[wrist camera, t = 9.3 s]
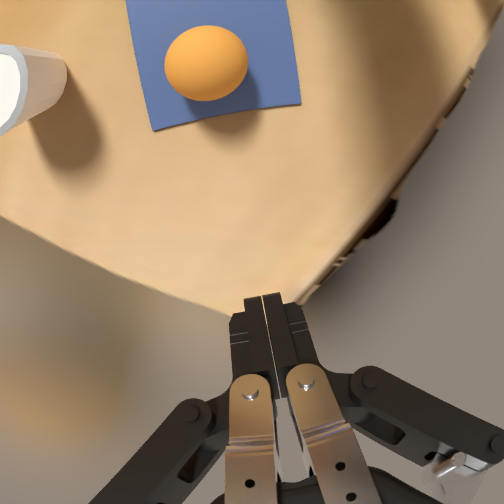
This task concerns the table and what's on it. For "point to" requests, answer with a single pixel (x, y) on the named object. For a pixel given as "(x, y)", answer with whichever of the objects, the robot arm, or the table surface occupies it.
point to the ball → (206, 63)
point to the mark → (233, 19)
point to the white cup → (28, 83)
